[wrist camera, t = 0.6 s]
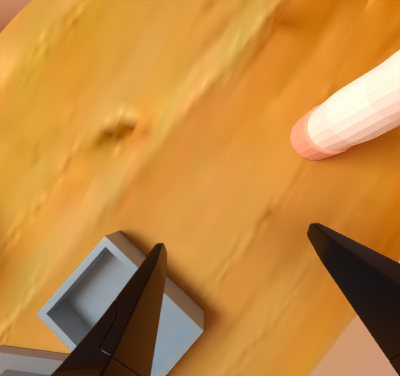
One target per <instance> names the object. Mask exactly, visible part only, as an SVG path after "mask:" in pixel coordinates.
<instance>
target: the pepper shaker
mask: <svg viewBox="0 0 400 376" xmlns="http://www.w3.org/2000/svg"><path fill="white" fill-rule="evenodd" d="M399 125H400V50H399V51H397V52H396V53H395V54H393V55H392V56H391V57H390V58H388V59H387V60H386V61H384V62H383V63H382V64H380V65H379V66H377V67H376V68H374V69H372V70H371V71H369V72H368V73H366V74H364V75H363V76H361V77H359V78H358V79H356V80H354V81H353V82H351V83H350V84H348V85H346V86H345V87H343V88H341V89H340V90H339V91H337V92H336V93H334V94H333V95H332V96H331V97H330V98H329V99H327V100H326V101H325V102H324V103H323V104H320V105H317V106H316V107H314V108H313V109H312V110H310V111H309V112H308V113H307V114H305V115H304V116H303V117H302V118H301V119H300V120H298V121H297V122H296V124H295V125H294V126H293V128H292V131H291V134H290V136H291V144H292V146H293V149H294V150H295V151H296V152H297V154H299V155H300V156H302V157H303V158H305V159H309V160H321V159H324V158H327V157H330V156H333V155H336V154H339V153H342V152H345V151H346V150H348V149H349V148H350V147H352V146H353V145H356V144H360V143H363V142H366V141H369V140H372V139H374V138H376V137H378V136H380V135H382V134H384V133H386V132H387V131H389V130H391V129H393V128H395V127H397V126H399Z"/></svg>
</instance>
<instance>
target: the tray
mask: <svg viewBox="0 0 400 376" xmlns="http://www.w3.org/2000/svg"><path fill="white" fill-rule="evenodd" d="M146 257H147V256H146V255H145V254H143V253H142V252H141V251H140V250H139V249H138V248H137V247H136V246H135V245H134V244H133V243H132V242H131V241H130V240H129V239H128V238H127V237H126V236H125V235H123V234H122V233H121V232H120V231H118V232H115V233H112V234H110V235H107V236H105V237H104V238H103V239H102V240H101V241H100V243H99V244H98V245H97V246H96V247H95V248H94V249H93V251H92V252H91V253H90V254H89V255H88V256H87V257H86V258H85V260H84V261H83V262H82V263H81V264H80V265H79V266H78V268H77V269H76V270H75V271H74V272H73V273H72V274H71V275H70V277H69V278H68V279H67V280H66V281H65V282H64V283H63V285H62V286H61V287H60V288H59V289H58V290H57V291H56V293H55V294H54V295H53V296H52V297H51V298H50V299H49V300H48V302H47V303H46V304H45V305H44V306H43V307H42V308H41V310H40V311H39V312H38V313H37V315H38V316H39V317H40V319H41V320H42V321H43V322H44V323H45V324H46V325H47V326H48V327H49V328H50V329H51V330H52V331H53V333H54V334H55V335H56V336H57V337H58V338H59V339H60V340H61V341H62V342H63V343H64V344H65V345H66V346H67V348H68V349H69V350H70V351H71V352H72V351H73V350H74V349H75V347H76V346H77V345H78V344H79V343H80V342H81V340H82V339H83V338H84V337H85V336H86V335H87V333H88V332H89V331H90V330H91V329H92V328H93V326H94V325H95V324H96V323H97V322H98V320H99V319H100V318H101V317H102V315H103V314H104V313H105V311H106V310H107V309H108V308H109V306H110V305H111V304H112V302H113V301H114V300H115V299H116V297H117V296H118V294H119V293H120V292H121V290H122V289H123V288H124V286H125V285H126V284H127V282H128V281H129V280H130V278H131V277H132V276H133V274H134V273H135V272H136V270H137V269H138V268H139V266H140V265H141V264H142V262H143V261H144V260H145V258H146ZM203 331H204V311H203V310H202V309H201V308H200V307H199V306H198V305H197V304H196V303H195V302H194V301H193V300H192V299H191V298H190V297H189V296H188V295H187V294H186V293H184V292H183V291H182V290H181V289H180V288H179V287H178V286H177V285H176V284H175V283H174V282H173V281H172V280H171V279H170V278H169V277H168V276H167V275H166V281H165V288H164V294H163V301H162V307H161V313H160V320H159V326H158V332H157V339H156V345H155V351H154V358H153V364H152V370H151V376H166V375H167V374H168V372H169V371H170V370H171V369H172V368H173V367H174V365H175V364H176V363H177V362H178V361H179V359H180V358H181V357H182V356H183V355H184V354H185V352H186V351H187V350H188V349H189V348H190V347H191V345H192V344H193V343H194V342H195V341H196V340H197V338H198V337H199V336H200V335H201V334H202V333H203Z"/></svg>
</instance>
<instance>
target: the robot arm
mask: <svg viewBox="0 0 400 376" xmlns="http://www.w3.org/2000/svg"><path fill="white" fill-rule="evenodd" d="M307 236H308V238H309V240H310V242H311V243H312V245H313V247H314V249H315V251H316V253H317V254H318V256H319V258H320V260H321V261H322V263H323V264H324V266H325V267H326V269H327V270H328V272H329V273H330V275H331V276H332V278H333V279H334V281H335V282H336V284H337V285H338V286H339V288H340V289H341V291H342V292H343V294H344V295H345V297H346V298H347V300H348V301H349V303H350V304H351V306H352V307H353V309H354V310H355V311H356V313H357V314H358V316H359V317H360V319H361V320H362V322H363V323H364V325H365V326H366V327H367V329H368V330H369V332H370V333H371V335H372V336H373V338H374V339H375V341H376V342H377V344H378V345H379V347H380V348H381V349H382V351H383V353H384V354H385V356H386V357H387V358H388V360H390V361H389V362H390V363H391V365H392V366H393V368H394V369H395V370H396V372H397V373H398V375H399V376H400V264H399V263H398V262H396V261H394V260H392V259H390V258H388V257H386V256H384V255H382V254H380V253H378V252H376V251H374V250H372V249H370V248H368V247H366V246H364V245H362V244H360V243H358V242H356V241H354V240H352V239H350V238H348V237H346V236H344V235H342V234H340V233H338V232H336V231H334V230H332V229H330V228H328V227H326V226H324V225H322V224H320V223H312V224H310V225H309V229H308V232H307ZM166 265H167V251H166V248H165V246H164V244H163V243H157V244H156V245H155V246H154V248H153V249H152V250H151V252H150V253H149V254H148V256H147V257H146V258H145V260H144V261H143V262H142V264H141V265H140V266H139V268H138V269H137V270H136V272H135V273H134V274H133V276H132V277H131V278H130V280H129V281H128V282H127V284H126V285H125V286H124V288H123V289H122V290H121V292H120V293H119V294H118V296H117V297H116V299H115V300H114V301H113V302H112V304H111V305H110V306H109V308H108V309H107V310H106V311H105V313H104V314H103V315H102V317H101V318H100V319H99V320H98V322H97V323H96V324H95V325H94V326H93V328H92V329H91V330H90V331H89V332H88V333H87V335H86V336H85V337H84V338H83V339H82V340H81V342H80V343H79V344H78V345H77V346H76V347H75V349H74V350H73V351H72V352H71V353H70V354H69V356H68V357H67V358H66V359H65V360H64V361H63V363H62V364H61V365H60V366H59V367H58V368H57V369H56V370H55V371H54V372H53V373H52V374H51V375H50V376H151V370H152V364H153V358H154V351H155V345H156V339H157V332H158V326H159V320H160V313H161V307H162V301H163V294H164V288H165V281H166Z"/></svg>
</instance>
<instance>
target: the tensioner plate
mask: <svg viewBox="0 0 400 376" xmlns="http://www.w3.org/2000/svg"><path fill="white" fill-rule="evenodd" d="M68 356H69V354H64V353H56V352H49V351H41V350H33V349H26V348H18V347H11V346H3V345H0V376H50V375H51V374H52V373H53V372H54V371H55V370H56V369H57V368H58V367H59V366H60V365H61V364H62V363H63V361H64V360H65V359H66V358H67V357H68Z"/></svg>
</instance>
